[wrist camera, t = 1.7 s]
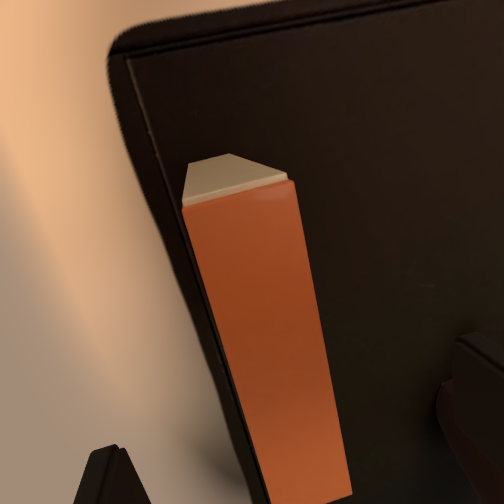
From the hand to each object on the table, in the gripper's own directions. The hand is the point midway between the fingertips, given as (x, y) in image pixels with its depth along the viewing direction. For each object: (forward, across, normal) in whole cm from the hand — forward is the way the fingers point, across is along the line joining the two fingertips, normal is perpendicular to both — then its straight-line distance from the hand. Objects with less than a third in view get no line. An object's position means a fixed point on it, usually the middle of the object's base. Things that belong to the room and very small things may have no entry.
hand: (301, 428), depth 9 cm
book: (+18, 0, -1) cm, 18 cm away
